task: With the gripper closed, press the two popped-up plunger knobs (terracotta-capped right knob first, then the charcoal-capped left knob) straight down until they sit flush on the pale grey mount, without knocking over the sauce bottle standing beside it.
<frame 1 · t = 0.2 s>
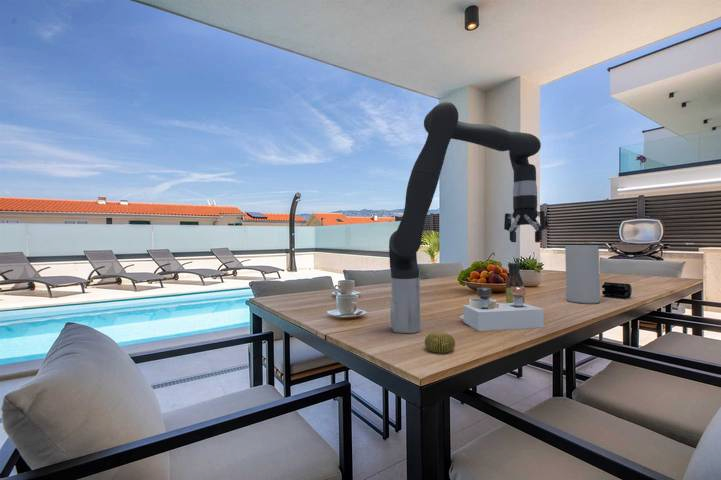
hand: (525, 242, 117), 28 cm above the table, tool pointing down, fingers open, 8 cm apart
knob left: (484, 300, 114), point 8 cm above the table, slide at 0.0 cm
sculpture: (439, 350, 91), on the table
mount: (501, 324, 115), on the table
knob right: (518, 299, 116), point 8 cm above the table, slide at 0.0 cm
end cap: (616, 297, 160), on the table
cylinder vase: (582, 302, 152), on the table
sauce bottle: (515, 315, 128), on the table
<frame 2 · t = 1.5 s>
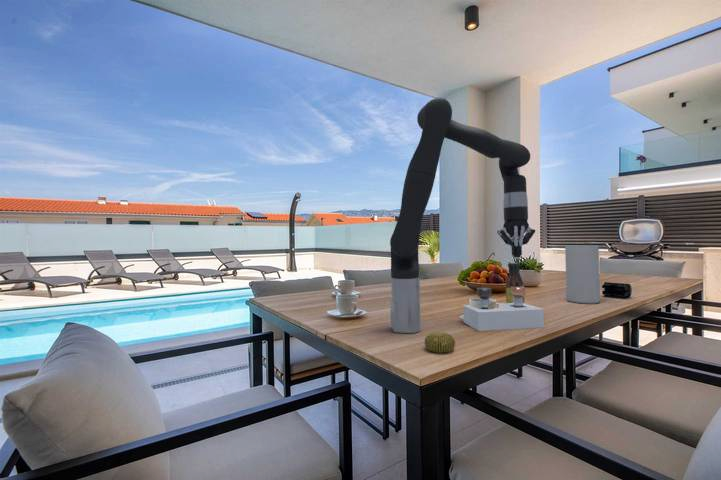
hand: (516, 257, 116), 23 cm above the table, tool pointing down, fingers closed
nothing on the table moved.
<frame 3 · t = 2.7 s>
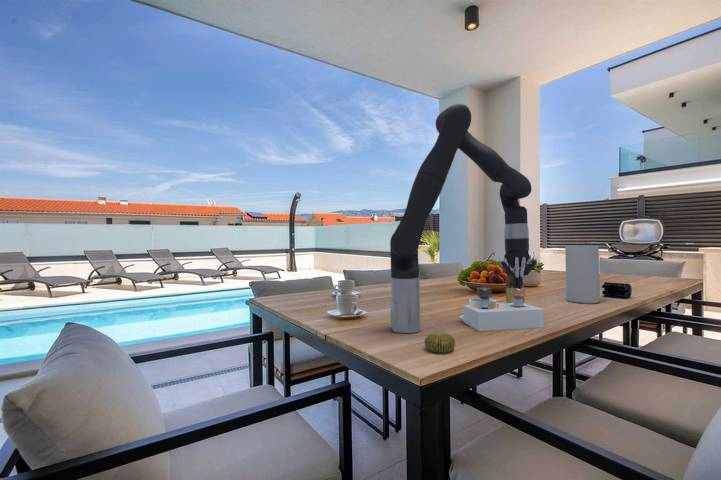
hand: (517, 288, 116), 12 cm above the table, tool pointing down, fingers closed
knob right: (518, 300, 116), point 8 cm above the table, slide at 0.4 cm, touching gripper
everything else where it was.
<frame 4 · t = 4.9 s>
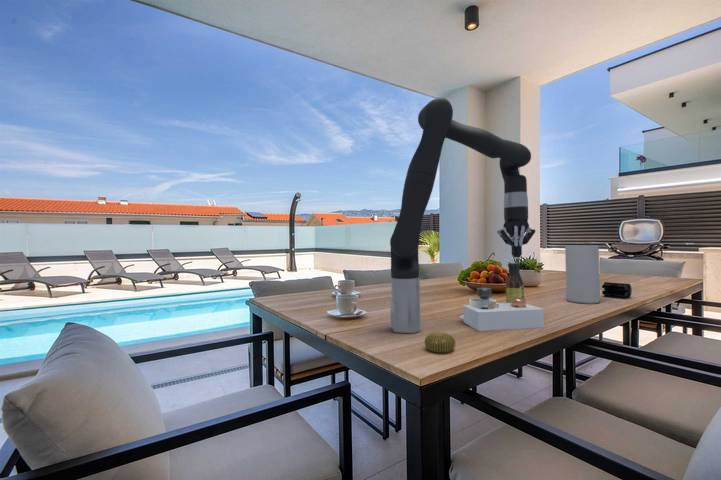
hand: (516, 257, 116), 23 cm above the table, tool pointing down, fingers closed
knob right: (518, 311, 116), point 4 cm above the table, slide at 4.0 cm, touching mount
everything else where it was.
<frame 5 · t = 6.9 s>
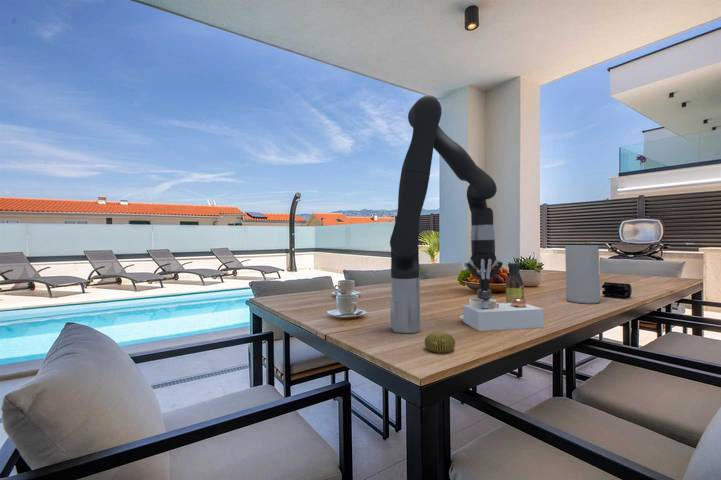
hand: (484, 290, 114), 12 cm above the table, tool pointing down, fingers closed
knob left: (484, 302, 114), point 8 cm above the table, slide at 0.6 cm, touching gripper
everything else where it was.
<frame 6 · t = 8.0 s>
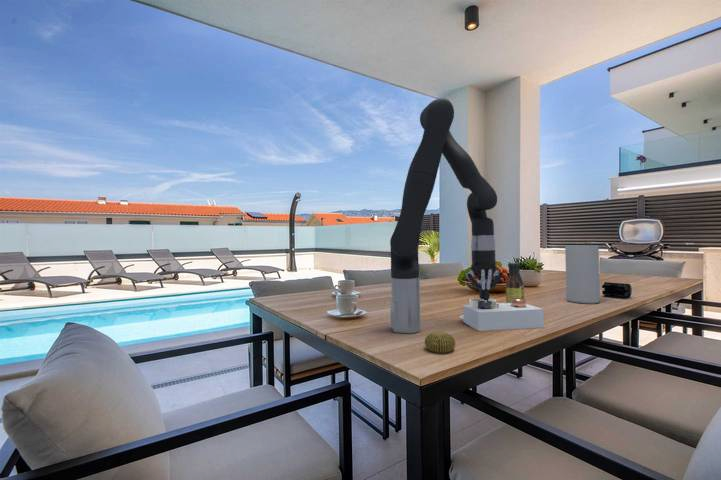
hand: (484, 300, 114), 9 cm above the table, tool pointing down, fingers closed
knob left: (484, 312, 114), point 4 cm above the table, slide at 4.0 cm, touching gripper, mount
everything else where it was.
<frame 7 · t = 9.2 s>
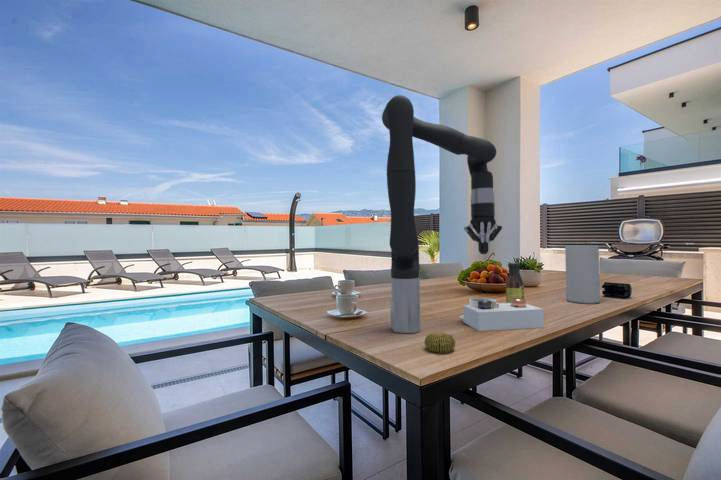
hand: (483, 253, 115), 24 cm above the table, tool pointing down, fingers closed
knob left: (484, 312, 114), point 4 cm above the table, slide at 4.0 cm, touching mount
everything else where it was.
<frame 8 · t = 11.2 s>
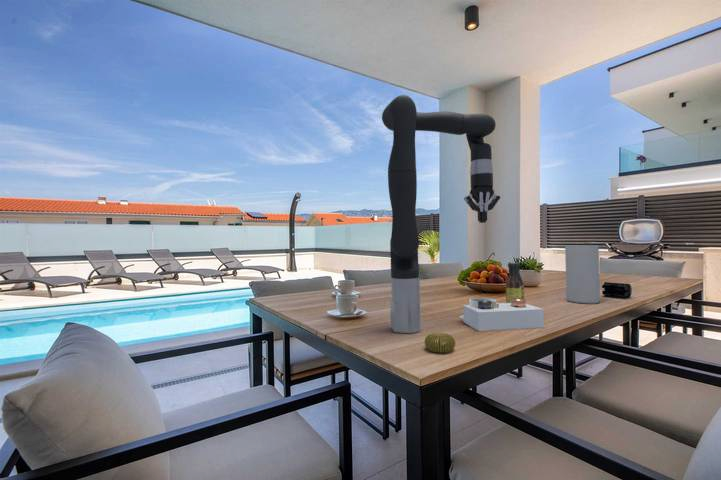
hand: (482, 222, 121), 35 cm above the table, tool pointing down, fingers closed
nothing on the table moved.
at the end: knob right slide at 4.0 cm; knob left slide at 4.0 cm; sauce bottle tilted 0° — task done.
